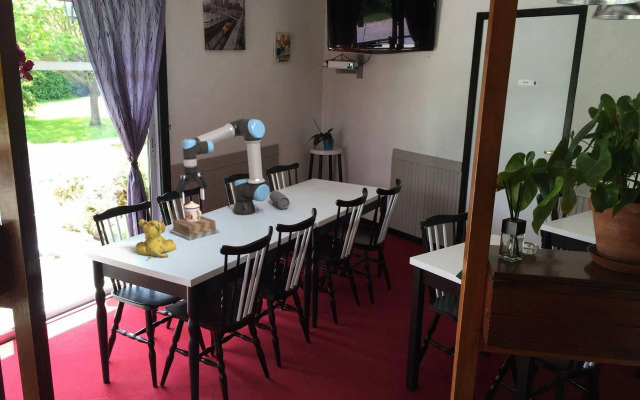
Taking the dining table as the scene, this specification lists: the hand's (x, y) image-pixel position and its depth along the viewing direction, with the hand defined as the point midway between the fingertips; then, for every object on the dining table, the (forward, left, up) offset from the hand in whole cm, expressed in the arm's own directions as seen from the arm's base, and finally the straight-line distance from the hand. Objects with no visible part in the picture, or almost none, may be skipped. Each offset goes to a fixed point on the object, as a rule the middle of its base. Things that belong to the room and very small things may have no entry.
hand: (192, 201), depth 309 cm
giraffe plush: (+34, +15, -20) cm, 42 cm away
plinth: (0, 0, -20) cm, 20 cm away
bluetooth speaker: (-77, -10, -20) cm, 80 cm away
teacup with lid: (0, 0, -12) cm, 12 cm away
